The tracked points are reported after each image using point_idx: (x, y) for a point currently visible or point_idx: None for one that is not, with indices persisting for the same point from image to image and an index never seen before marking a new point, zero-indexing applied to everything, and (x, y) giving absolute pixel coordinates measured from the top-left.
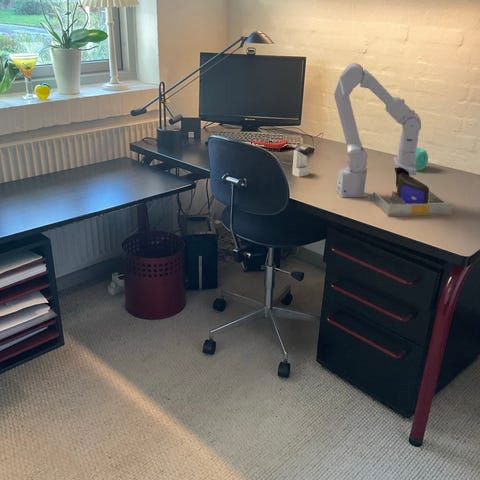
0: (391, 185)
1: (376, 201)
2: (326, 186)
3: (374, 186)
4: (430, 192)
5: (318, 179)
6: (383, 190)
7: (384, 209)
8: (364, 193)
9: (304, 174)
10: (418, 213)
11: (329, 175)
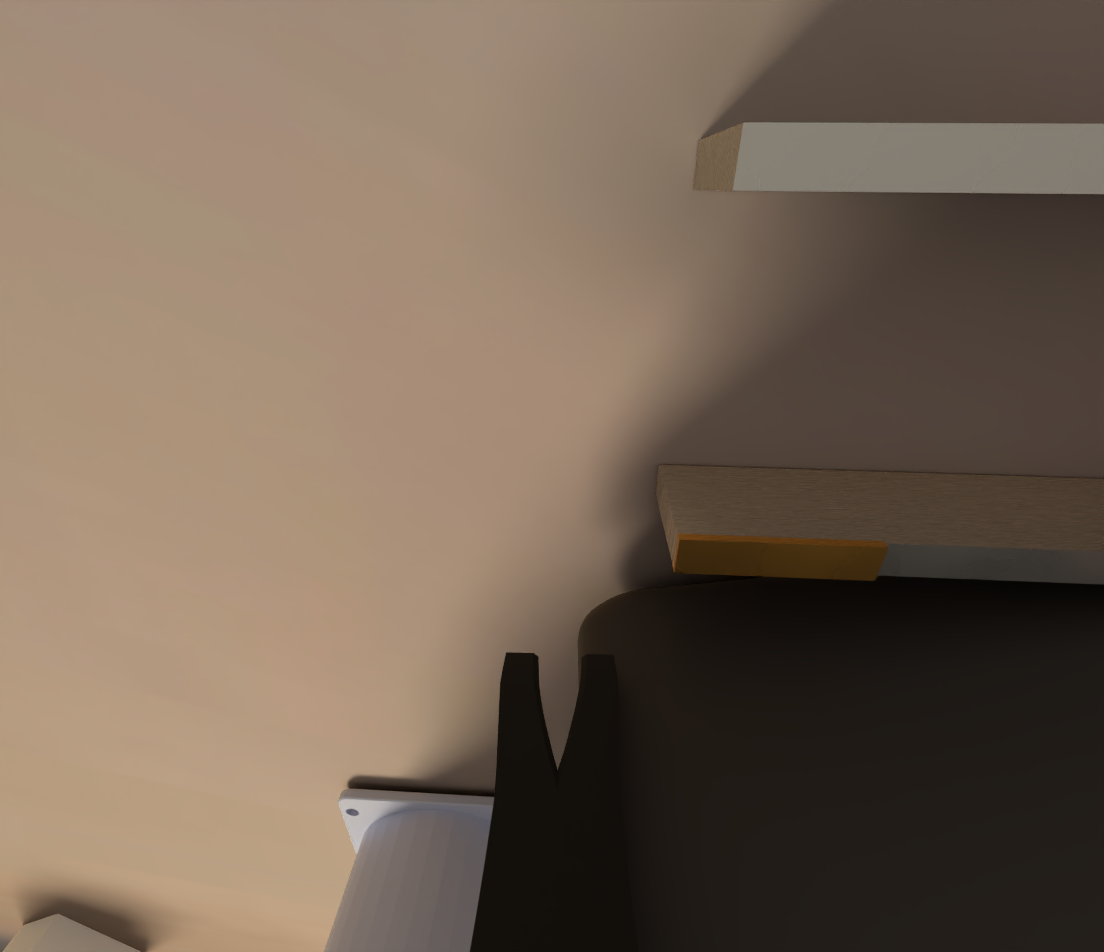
0: (90, 488)
1: None
2: (304, 906)
3: (203, 664)
4: (785, 189)
5: (156, 903)
6: (323, 633)
7: None
8: (482, 815)
9: (93, 942)
10: None
11: (15, 842)
